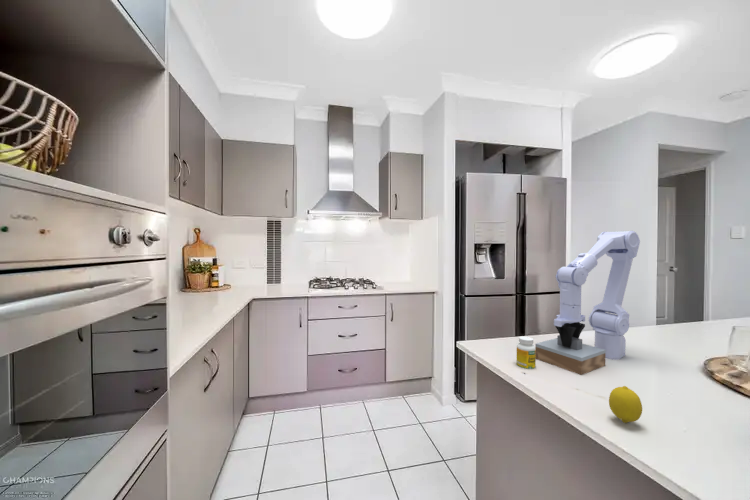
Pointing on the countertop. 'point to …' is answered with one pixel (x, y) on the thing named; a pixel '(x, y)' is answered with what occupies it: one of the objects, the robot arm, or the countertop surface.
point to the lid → (571, 348)
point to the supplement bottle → (526, 353)
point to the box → (570, 361)
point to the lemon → (625, 404)
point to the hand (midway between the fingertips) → (569, 345)
